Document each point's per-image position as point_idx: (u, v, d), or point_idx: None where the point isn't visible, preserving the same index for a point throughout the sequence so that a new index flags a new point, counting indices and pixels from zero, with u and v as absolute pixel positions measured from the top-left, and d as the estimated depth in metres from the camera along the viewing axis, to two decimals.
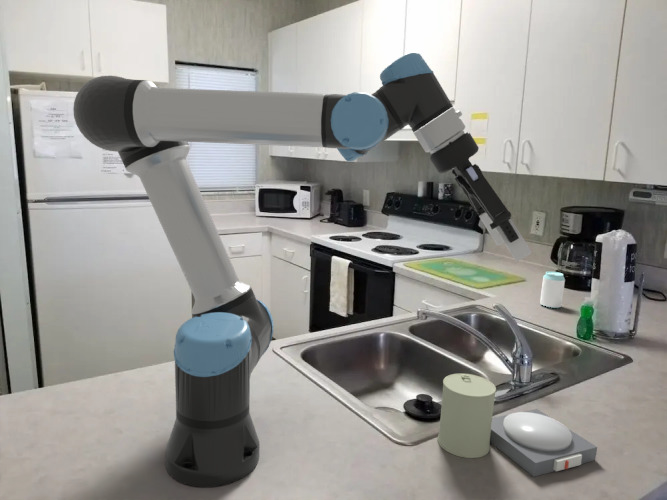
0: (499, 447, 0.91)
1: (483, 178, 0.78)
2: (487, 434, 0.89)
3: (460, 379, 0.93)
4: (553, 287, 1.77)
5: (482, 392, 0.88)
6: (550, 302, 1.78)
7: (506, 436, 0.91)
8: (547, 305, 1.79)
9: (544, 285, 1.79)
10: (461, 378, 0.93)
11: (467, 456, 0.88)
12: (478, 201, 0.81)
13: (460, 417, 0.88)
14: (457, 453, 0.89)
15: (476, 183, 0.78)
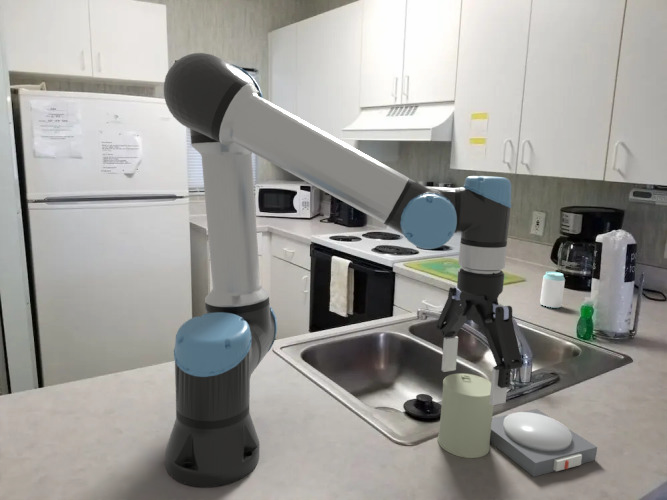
0: (499, 447, 0.91)
1: (511, 322, 0.82)
2: (487, 434, 0.89)
3: (460, 379, 0.93)
4: (553, 287, 1.77)
5: (482, 392, 0.88)
6: (550, 302, 1.78)
7: (506, 436, 0.91)
8: (547, 305, 1.79)
9: (544, 285, 1.79)
10: (461, 378, 0.93)
11: (467, 456, 0.88)
12: (489, 336, 0.84)
13: (460, 417, 0.88)
14: (457, 453, 0.89)
15: (505, 323, 0.81)
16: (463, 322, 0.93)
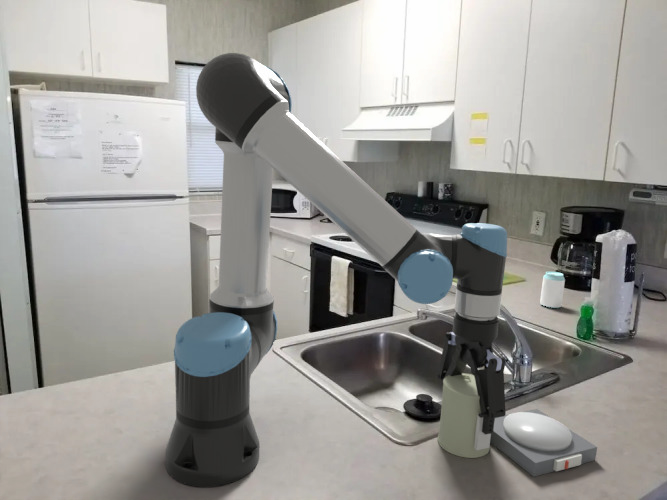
0: (499, 447, 0.91)
1: (502, 373, 0.84)
2: None
3: (460, 379, 0.93)
4: (553, 287, 1.77)
5: None
6: (550, 302, 1.78)
7: (506, 436, 0.91)
8: (547, 305, 1.79)
9: (544, 285, 1.79)
10: (461, 378, 0.93)
11: (467, 456, 0.88)
12: (478, 383, 0.86)
13: (460, 417, 0.88)
14: (457, 453, 0.89)
15: (496, 375, 0.84)
16: (462, 369, 0.94)
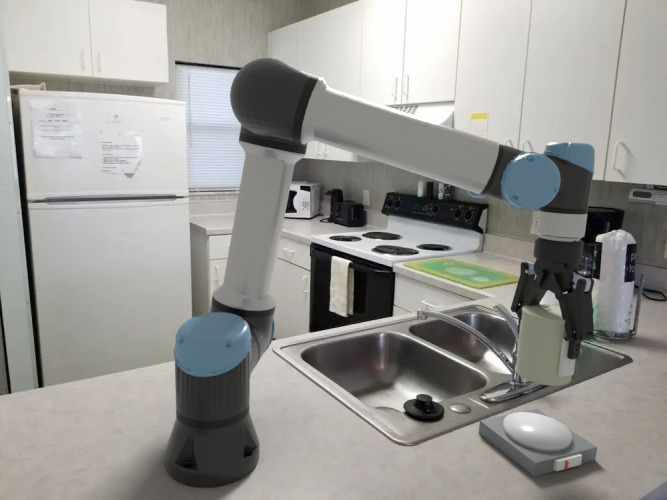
0: (499, 447, 0.91)
1: (590, 294, 0.81)
2: None
3: (539, 308, 0.90)
4: None
5: None
6: (550, 302, 1.78)
7: (506, 436, 0.91)
8: None
9: None
10: (540, 307, 0.90)
11: (551, 383, 0.86)
12: (563, 307, 0.84)
13: (544, 343, 0.85)
14: (540, 381, 0.86)
15: (584, 296, 0.81)
16: (540, 298, 0.91)
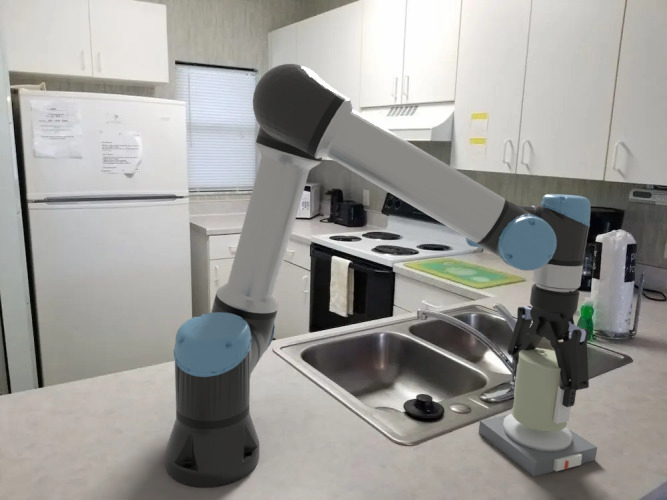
0: (499, 447, 0.91)
1: (585, 345, 0.83)
2: None
3: (535, 353, 0.92)
4: None
5: None
6: None
7: (506, 436, 0.91)
8: None
9: None
10: (536, 352, 0.92)
11: (546, 429, 0.87)
12: (559, 356, 0.85)
13: (540, 390, 0.87)
14: (536, 426, 0.88)
15: (580, 346, 0.83)
16: (536, 343, 0.93)
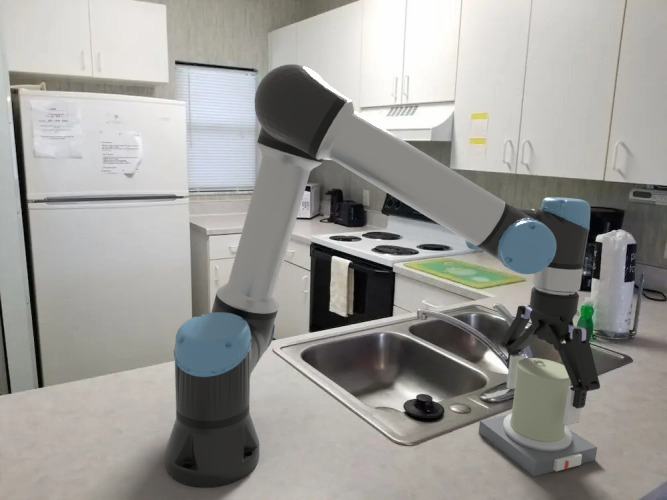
0: (499, 447, 0.91)
1: (588, 343, 0.83)
2: None
3: (534, 363, 0.92)
4: None
5: (559, 375, 0.88)
6: None
7: (506, 436, 0.91)
8: None
9: None
10: (534, 362, 0.93)
11: (544, 440, 0.88)
12: (564, 357, 0.85)
13: (538, 401, 0.87)
14: (534, 437, 0.88)
15: (583, 345, 0.82)
16: (531, 340, 0.94)
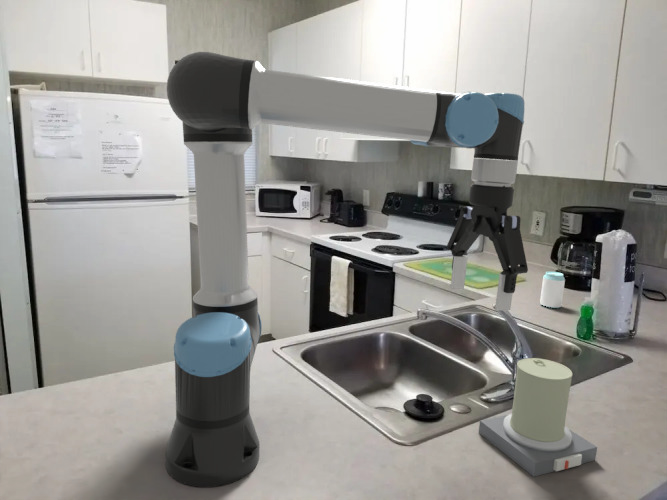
0: (499, 447, 0.91)
1: (519, 231, 0.87)
2: (564, 418, 0.89)
3: (534, 363, 0.92)
4: (553, 287, 1.77)
5: (559, 375, 0.88)
6: (550, 302, 1.78)
7: (506, 436, 0.91)
8: (547, 305, 1.79)
9: (544, 285, 1.79)
10: (534, 362, 0.93)
11: (544, 440, 0.88)
12: (497, 246, 0.89)
13: (538, 401, 0.87)
14: (534, 437, 0.88)
15: (513, 231, 0.86)
16: (473, 240, 0.98)
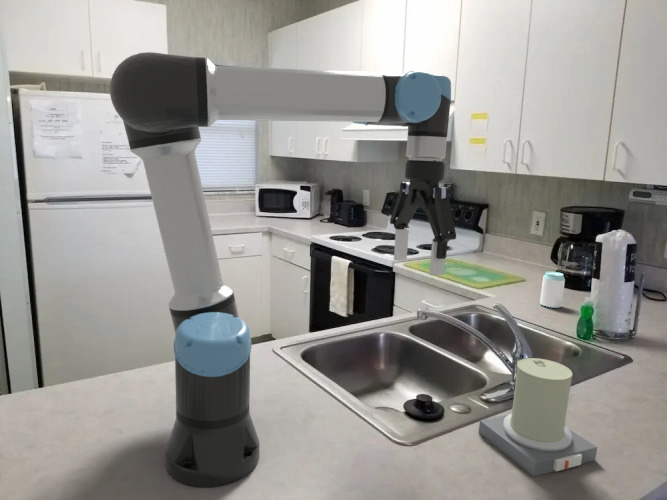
0: (499, 447, 0.91)
1: (448, 201, 0.94)
2: (564, 418, 0.89)
3: (533, 363, 0.92)
4: (553, 287, 1.77)
5: (559, 375, 0.88)
6: (550, 302, 1.78)
7: (506, 436, 0.91)
8: (547, 305, 1.79)
9: (544, 285, 1.79)
10: (534, 362, 0.93)
11: (544, 440, 0.88)
12: (429, 216, 0.96)
13: (538, 401, 0.87)
14: (534, 437, 0.88)
15: (442, 201, 0.94)
16: (412, 213, 1.05)
